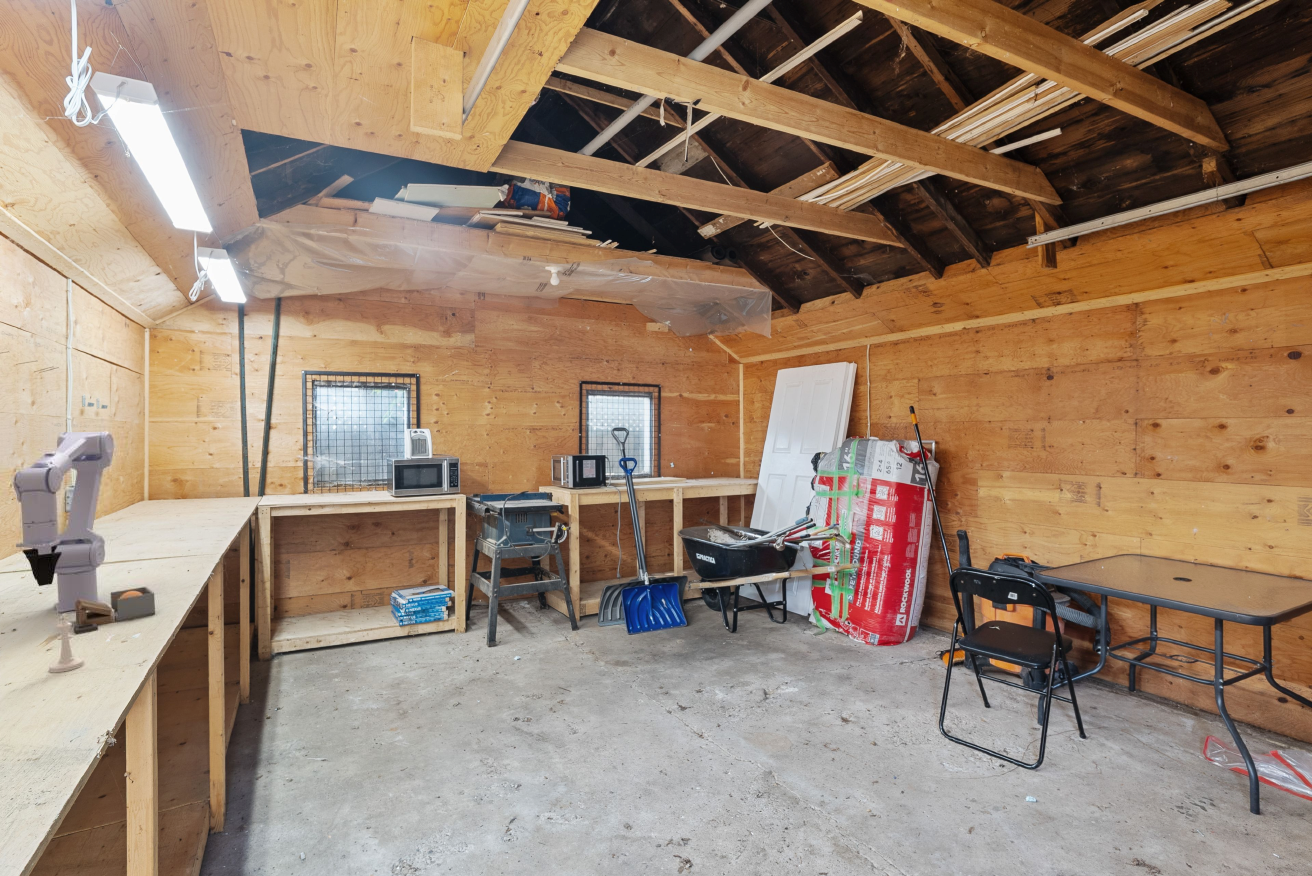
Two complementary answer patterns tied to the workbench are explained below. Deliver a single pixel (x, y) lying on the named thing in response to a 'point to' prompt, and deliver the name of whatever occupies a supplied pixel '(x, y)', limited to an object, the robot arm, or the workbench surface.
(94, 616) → the ramp
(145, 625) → the workbench surface
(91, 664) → the workbench surface
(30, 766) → the workbench surface
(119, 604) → the gray open storage bin
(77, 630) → the dark gray picture frame
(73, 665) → the chess piece
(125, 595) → the ball
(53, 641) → the workbench surface
